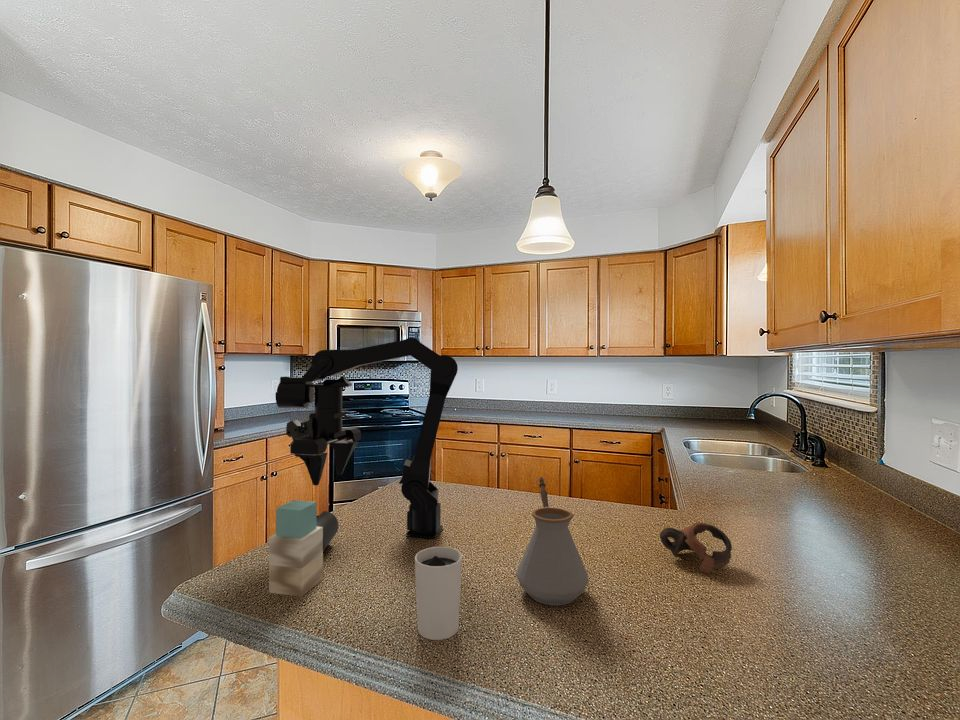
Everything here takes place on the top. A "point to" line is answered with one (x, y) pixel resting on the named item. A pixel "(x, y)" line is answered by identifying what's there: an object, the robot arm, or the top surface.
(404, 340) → the robot arm
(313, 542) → the tower middle block
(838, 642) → the top surface
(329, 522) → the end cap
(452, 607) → the white cup
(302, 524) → the teal block
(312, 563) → the tower bottom block
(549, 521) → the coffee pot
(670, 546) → the brown curved piece
